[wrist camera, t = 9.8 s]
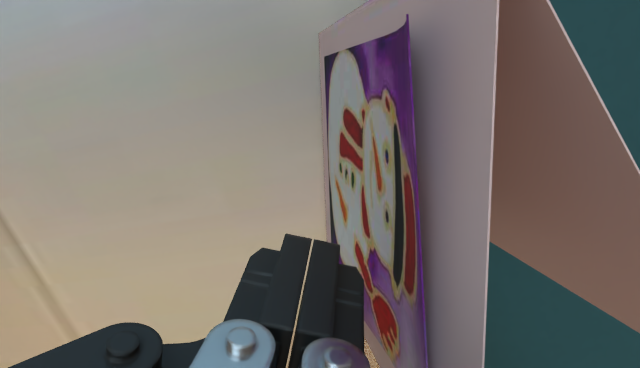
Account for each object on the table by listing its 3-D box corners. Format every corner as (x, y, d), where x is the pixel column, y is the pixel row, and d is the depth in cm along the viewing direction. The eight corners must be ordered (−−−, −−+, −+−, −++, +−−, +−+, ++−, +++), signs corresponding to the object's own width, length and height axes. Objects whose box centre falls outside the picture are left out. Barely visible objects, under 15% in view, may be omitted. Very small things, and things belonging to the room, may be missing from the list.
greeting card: (300, 33, 21) (443, -88, 6) (452, 29, 22) (862, -79, 8) (311, 266, 23) (433, 562, 9) (447, 252, 24) (750, 490, 10)
